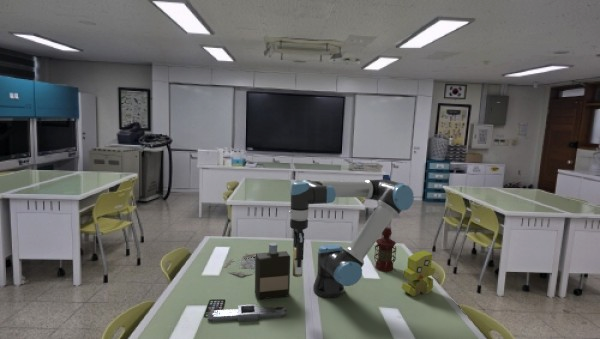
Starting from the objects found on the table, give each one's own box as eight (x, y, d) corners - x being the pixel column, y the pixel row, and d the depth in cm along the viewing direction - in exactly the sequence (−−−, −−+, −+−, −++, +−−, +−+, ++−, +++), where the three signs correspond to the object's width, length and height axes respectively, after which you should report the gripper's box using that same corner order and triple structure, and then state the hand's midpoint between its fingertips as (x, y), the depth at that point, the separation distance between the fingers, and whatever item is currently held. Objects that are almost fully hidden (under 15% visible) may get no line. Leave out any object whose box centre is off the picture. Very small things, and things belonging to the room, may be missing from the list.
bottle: (254, 292, 177) (254, 242, 173) (286, 289, 181) (287, 240, 178) (256, 300, 169) (257, 248, 166) (290, 296, 174) (291, 245, 170)
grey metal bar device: (285, 308, 162) (285, 302, 162) (287, 318, 155) (287, 311, 154) (208, 313, 157) (208, 306, 156) (207, 323, 149) (207, 316, 148)
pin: (301, 272, 160) (301, 246, 159) (302, 276, 156) (303, 249, 155) (292, 273, 160) (292, 246, 158) (293, 277, 156) (294, 250, 154)
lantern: (386, 274, 203) (390, 221, 199) (369, 267, 212) (372, 216, 208) (399, 269, 211) (403, 218, 207) (381, 262, 220) (385, 213, 216)
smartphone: (203, 317, 153) (209, 299, 168) (203, 318, 153) (209, 300, 168) (221, 316, 154) (225, 299, 169) (221, 318, 154) (225, 300, 169)
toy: (409, 297, 177) (412, 257, 174) (401, 292, 182) (403, 253, 179) (433, 292, 183) (437, 253, 181) (425, 287, 188) (428, 249, 186)
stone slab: (286, 263, 214) (286, 261, 214) (239, 279, 191) (239, 277, 191) (258, 251, 233) (258, 249, 233) (212, 264, 210) (212, 262, 210)
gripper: (287, 213, 162) (286, 264, 165) (293, 224, 146) (291, 280, 149) (304, 213, 164) (302, 263, 167) (311, 224, 147) (309, 279, 150)
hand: (297, 271), depth 158 cm, fingers closed on pin, 4 cm apart
